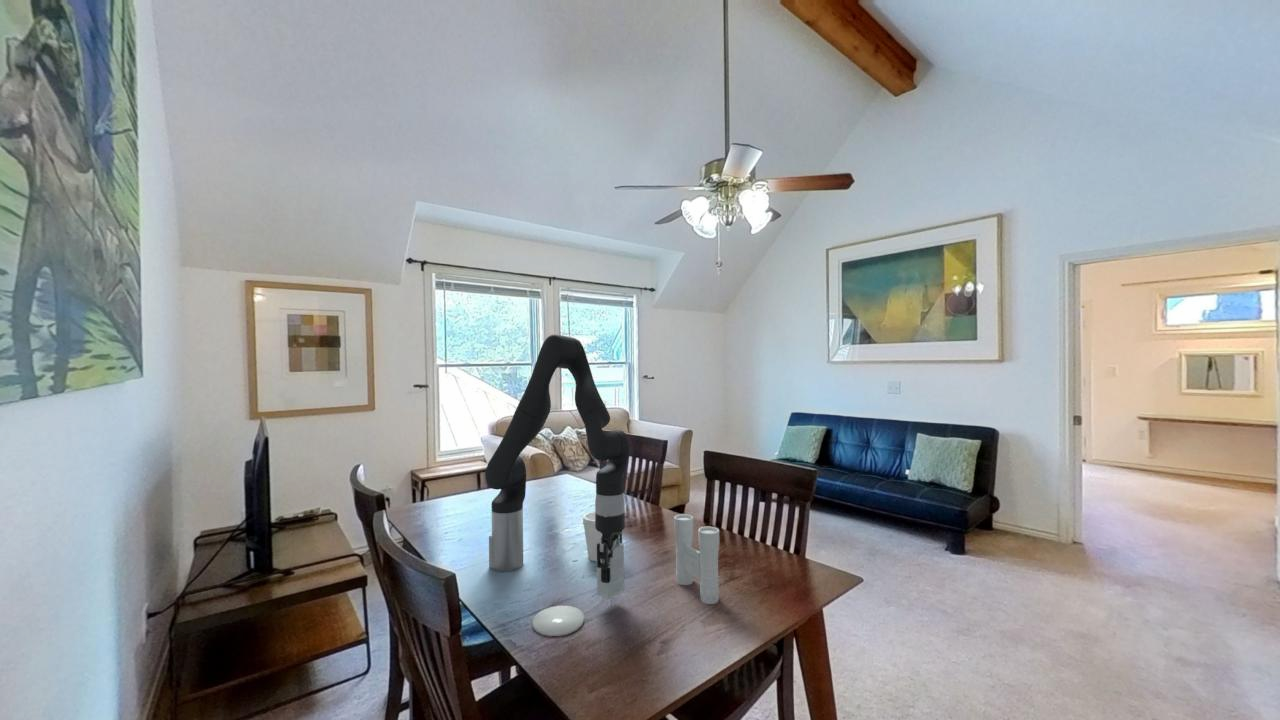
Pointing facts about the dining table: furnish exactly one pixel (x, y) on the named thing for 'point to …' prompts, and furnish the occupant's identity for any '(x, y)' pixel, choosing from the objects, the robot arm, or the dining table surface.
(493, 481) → the robot arm
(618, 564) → the skincare box
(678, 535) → the binoculars
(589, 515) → the foam cup
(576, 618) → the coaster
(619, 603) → the dining table surface
